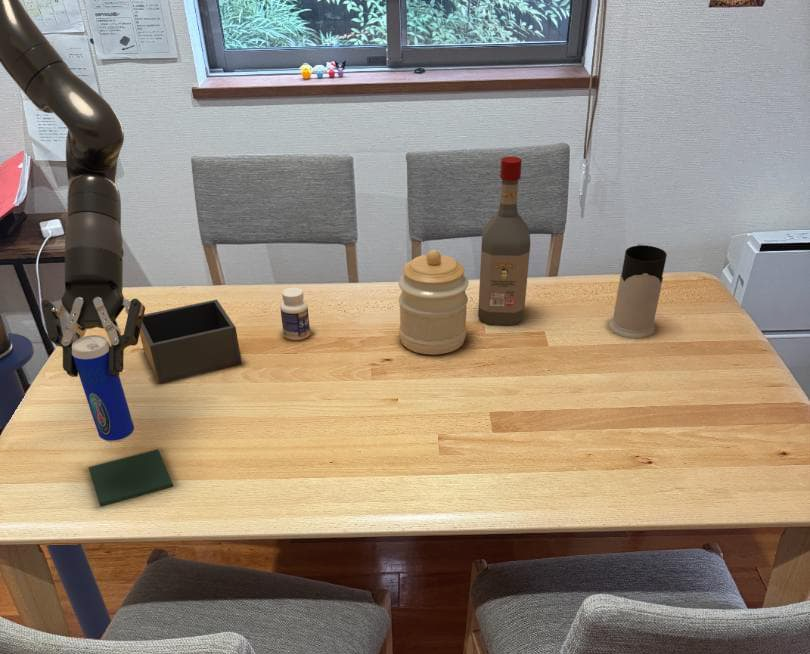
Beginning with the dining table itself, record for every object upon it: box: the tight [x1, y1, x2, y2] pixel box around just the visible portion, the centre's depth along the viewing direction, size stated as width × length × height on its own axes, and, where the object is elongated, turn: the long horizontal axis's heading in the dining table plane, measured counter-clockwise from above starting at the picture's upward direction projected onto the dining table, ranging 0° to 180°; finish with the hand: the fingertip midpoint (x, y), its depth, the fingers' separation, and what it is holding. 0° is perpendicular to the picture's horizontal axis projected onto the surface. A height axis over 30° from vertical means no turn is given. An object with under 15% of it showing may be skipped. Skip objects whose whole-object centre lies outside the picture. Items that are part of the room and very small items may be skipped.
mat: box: [88, 448, 174, 507], centre depth 126 cm, size 11×10×1 cm
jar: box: [397, 249, 469, 355], centre depth 152 cm, size 13×13×18 cm
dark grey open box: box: [139, 299, 243, 384], centre depth 151 cm, size 16×13×8 cm
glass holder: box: [609, 242, 668, 339], centre depth 157 cm, size 9×14×15 cm, turn 173°
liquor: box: [477, 156, 531, 326], centre depth 155 cm, size 9×9×30 cm
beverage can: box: [72, 334, 135, 444], centre depth 115 cm, size 5×5×15 cm
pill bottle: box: [279, 287, 311, 341], centre depth 157 cm, size 5×5×9 cm
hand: (93, 374), depth 112 cm, fingers closed on beverage can, 5 cm apart
